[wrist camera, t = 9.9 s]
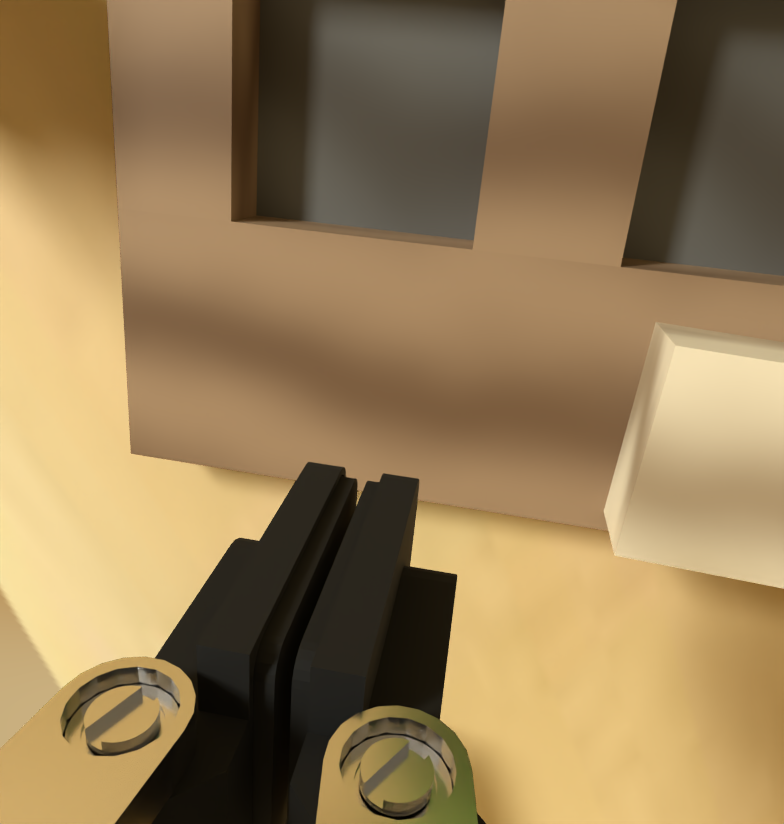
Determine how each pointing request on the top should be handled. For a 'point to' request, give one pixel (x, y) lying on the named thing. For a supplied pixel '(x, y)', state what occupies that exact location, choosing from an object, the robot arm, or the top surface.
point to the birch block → (704, 458)
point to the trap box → (436, 229)
